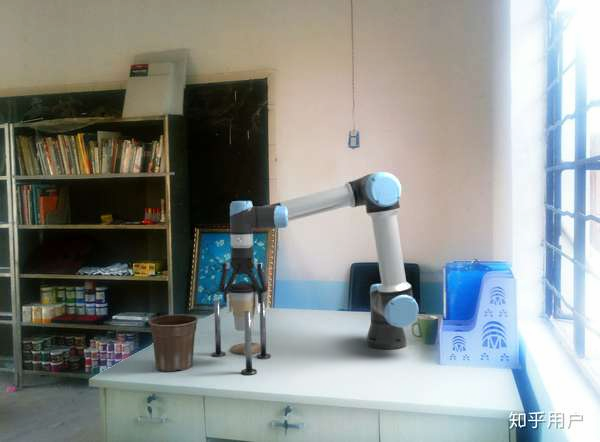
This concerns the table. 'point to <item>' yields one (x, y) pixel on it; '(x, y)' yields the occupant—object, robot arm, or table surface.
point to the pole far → (217, 331)
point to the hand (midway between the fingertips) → (243, 312)
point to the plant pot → (173, 341)
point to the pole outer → (248, 346)
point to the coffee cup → (242, 303)
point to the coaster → (241, 348)
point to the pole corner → (263, 333)
